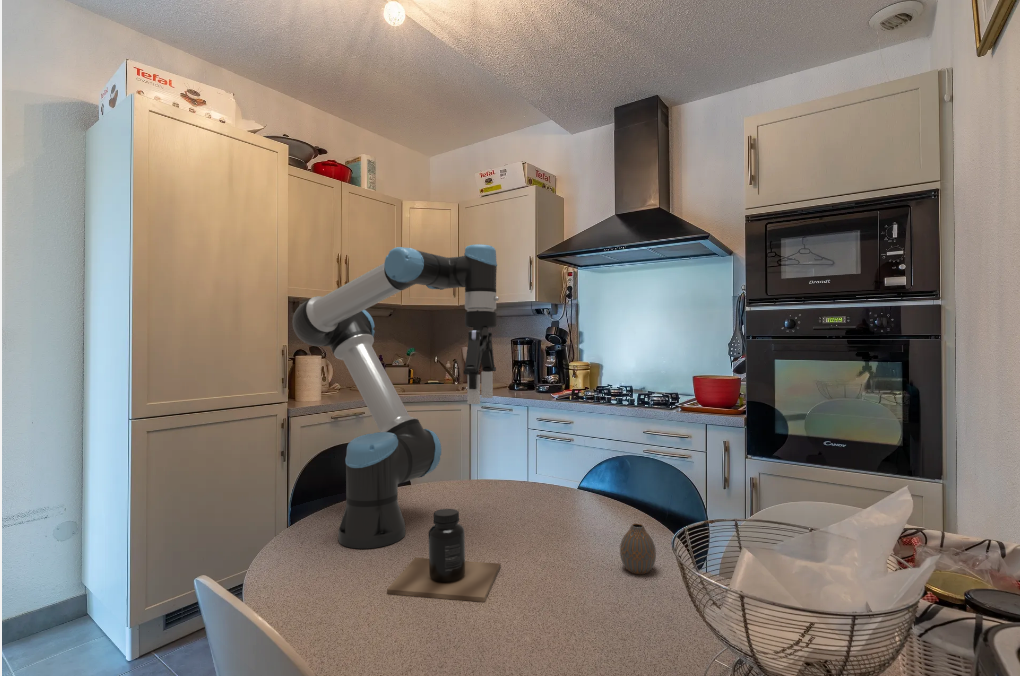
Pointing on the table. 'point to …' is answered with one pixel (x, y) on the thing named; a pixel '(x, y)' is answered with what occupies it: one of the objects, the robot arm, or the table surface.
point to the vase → (637, 550)
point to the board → (466, 588)
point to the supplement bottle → (446, 547)
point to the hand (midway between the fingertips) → (480, 400)
